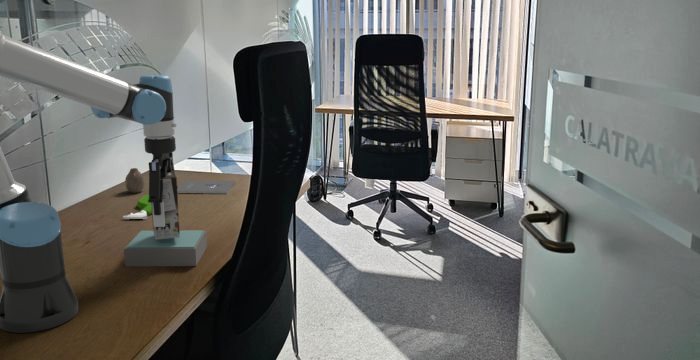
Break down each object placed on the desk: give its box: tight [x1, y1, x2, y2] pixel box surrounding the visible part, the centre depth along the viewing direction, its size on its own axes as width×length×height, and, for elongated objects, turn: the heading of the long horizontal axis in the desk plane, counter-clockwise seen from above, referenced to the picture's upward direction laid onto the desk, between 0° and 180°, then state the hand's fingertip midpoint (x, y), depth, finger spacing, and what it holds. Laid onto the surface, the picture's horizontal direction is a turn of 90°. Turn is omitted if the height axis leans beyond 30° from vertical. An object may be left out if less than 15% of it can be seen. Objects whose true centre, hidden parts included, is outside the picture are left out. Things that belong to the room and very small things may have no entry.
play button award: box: [177, 179, 236, 195], centre depth 227 cm, size 16×2×20 cm
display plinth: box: [123, 229, 208, 267], centre depth 158 cm, size 14×18×5 cm
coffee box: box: [151, 170, 180, 240], centre depth 155 cm, size 9×6×16 cm
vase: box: [124, 167, 146, 194], centre depth 220 cm, size 7×7×9 cm
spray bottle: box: [122, 193, 152, 220], centre depth 200 cm, size 3×11×24 cm
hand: (165, 219), depth 156 cm, fingers closed on coffee box, 10 cm apart
